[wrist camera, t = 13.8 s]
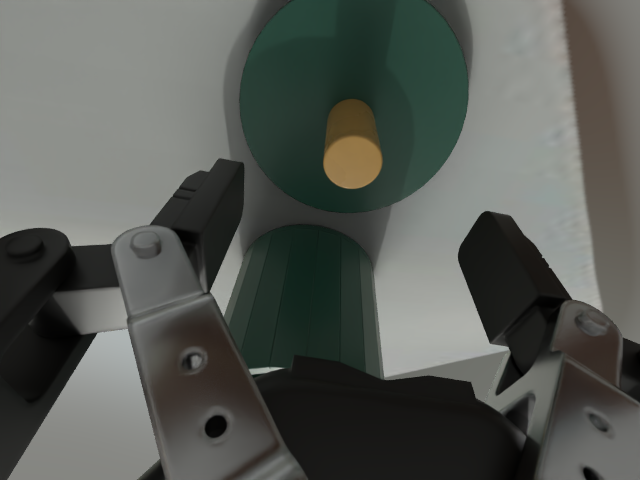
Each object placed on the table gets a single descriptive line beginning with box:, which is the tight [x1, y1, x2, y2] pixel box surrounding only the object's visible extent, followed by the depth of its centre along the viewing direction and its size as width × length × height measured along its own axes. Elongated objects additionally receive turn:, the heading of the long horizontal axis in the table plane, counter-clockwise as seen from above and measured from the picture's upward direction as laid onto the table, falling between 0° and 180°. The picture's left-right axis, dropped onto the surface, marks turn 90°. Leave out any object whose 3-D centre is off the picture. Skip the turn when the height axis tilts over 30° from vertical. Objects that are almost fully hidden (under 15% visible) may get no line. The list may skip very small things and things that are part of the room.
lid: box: [239, 0, 469, 213], centre depth 15 cm, size 11×11×6 cm
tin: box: [224, 225, 384, 380], centre depth 21 cm, size 10×10×10 cm
